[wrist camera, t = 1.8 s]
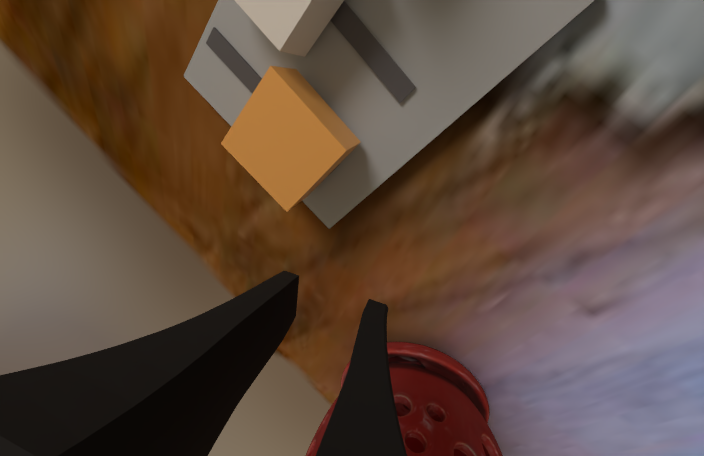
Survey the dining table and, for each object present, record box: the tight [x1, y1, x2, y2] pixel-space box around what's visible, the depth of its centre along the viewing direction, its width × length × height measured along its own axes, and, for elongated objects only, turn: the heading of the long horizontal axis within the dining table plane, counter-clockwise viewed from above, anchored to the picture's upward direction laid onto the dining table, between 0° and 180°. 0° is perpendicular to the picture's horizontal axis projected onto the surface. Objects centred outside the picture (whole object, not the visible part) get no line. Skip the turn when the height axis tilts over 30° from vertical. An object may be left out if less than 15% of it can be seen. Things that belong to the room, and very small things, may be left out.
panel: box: [184, 0, 594, 229], centre depth 14 cm, size 13×17×1 cm
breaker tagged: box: [221, 66, 361, 212], centre depth 15 cm, size 5×5×2 cm
